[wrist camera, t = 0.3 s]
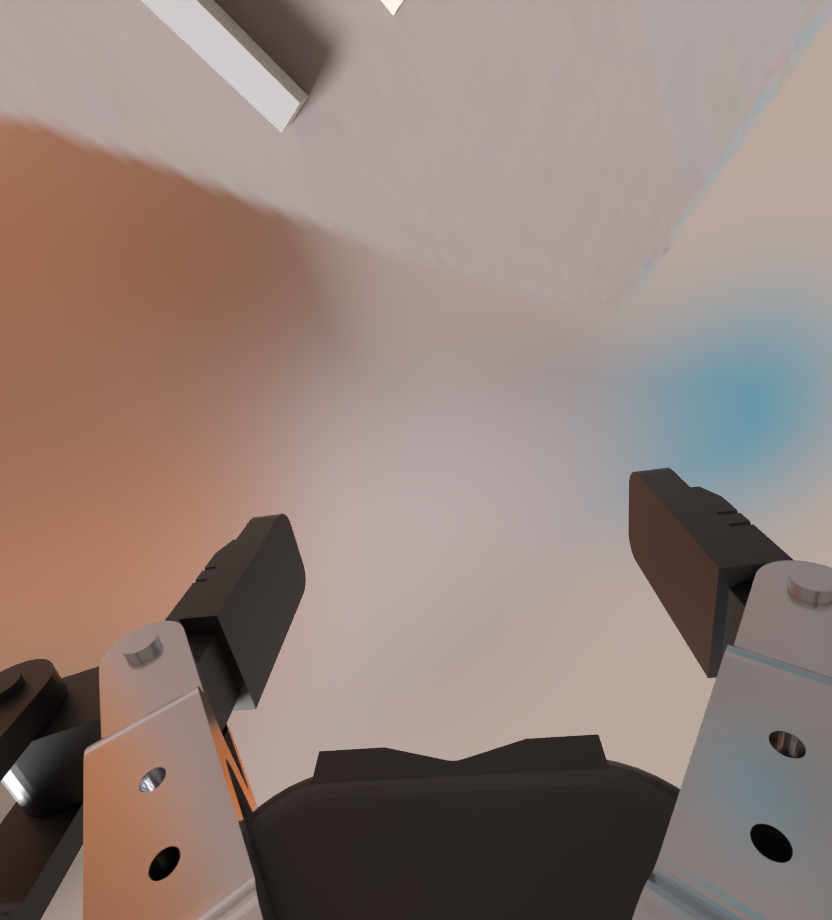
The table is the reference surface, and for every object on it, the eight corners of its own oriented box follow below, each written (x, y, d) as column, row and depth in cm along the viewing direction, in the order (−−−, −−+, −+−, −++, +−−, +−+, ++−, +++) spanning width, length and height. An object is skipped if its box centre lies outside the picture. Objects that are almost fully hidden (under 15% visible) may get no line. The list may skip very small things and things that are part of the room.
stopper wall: (137, -24, 27) (113, -26, 24) (152, -63, 26) (127, -69, 23) (291, 123, 31) (281, 132, 29) (308, 96, 30) (300, 103, 28)
